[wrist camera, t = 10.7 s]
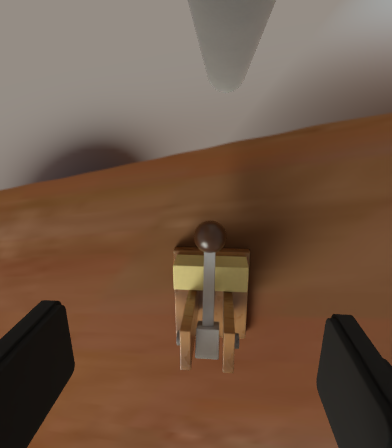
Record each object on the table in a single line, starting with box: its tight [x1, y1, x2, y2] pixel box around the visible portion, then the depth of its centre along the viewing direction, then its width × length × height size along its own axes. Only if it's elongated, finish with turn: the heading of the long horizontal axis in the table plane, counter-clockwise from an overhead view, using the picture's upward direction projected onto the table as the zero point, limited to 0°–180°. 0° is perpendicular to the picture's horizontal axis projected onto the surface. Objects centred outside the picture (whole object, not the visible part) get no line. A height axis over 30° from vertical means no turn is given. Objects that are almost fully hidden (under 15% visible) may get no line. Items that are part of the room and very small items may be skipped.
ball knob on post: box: [194, 221, 227, 359], centre depth 28 cm, size 13×3×3 cm, turn 1°
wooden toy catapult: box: [174, 247, 250, 373], centre depth 31 cm, size 12×9×11 cm
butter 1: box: [173, 255, 204, 290], centre depth 33 cm, size 3×4×3 cm
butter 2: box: [215, 256, 249, 292], centre depth 33 cm, size 3×4×3 cm
